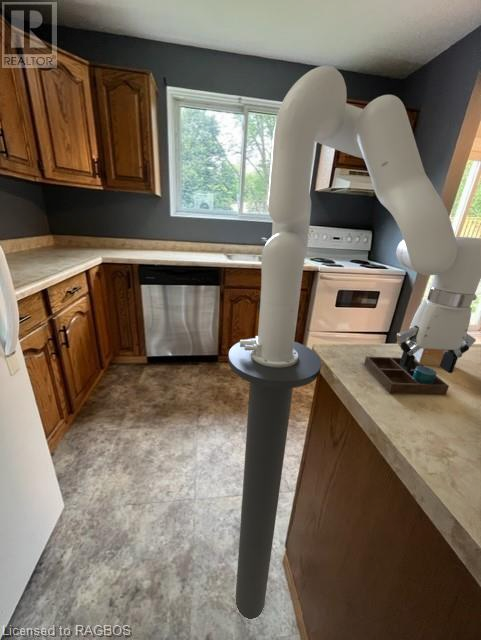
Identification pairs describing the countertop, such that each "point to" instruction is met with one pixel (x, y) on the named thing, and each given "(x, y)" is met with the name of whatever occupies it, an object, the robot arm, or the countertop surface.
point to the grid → (402, 377)
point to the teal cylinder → (424, 375)
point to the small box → (430, 356)
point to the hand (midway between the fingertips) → (425, 369)
